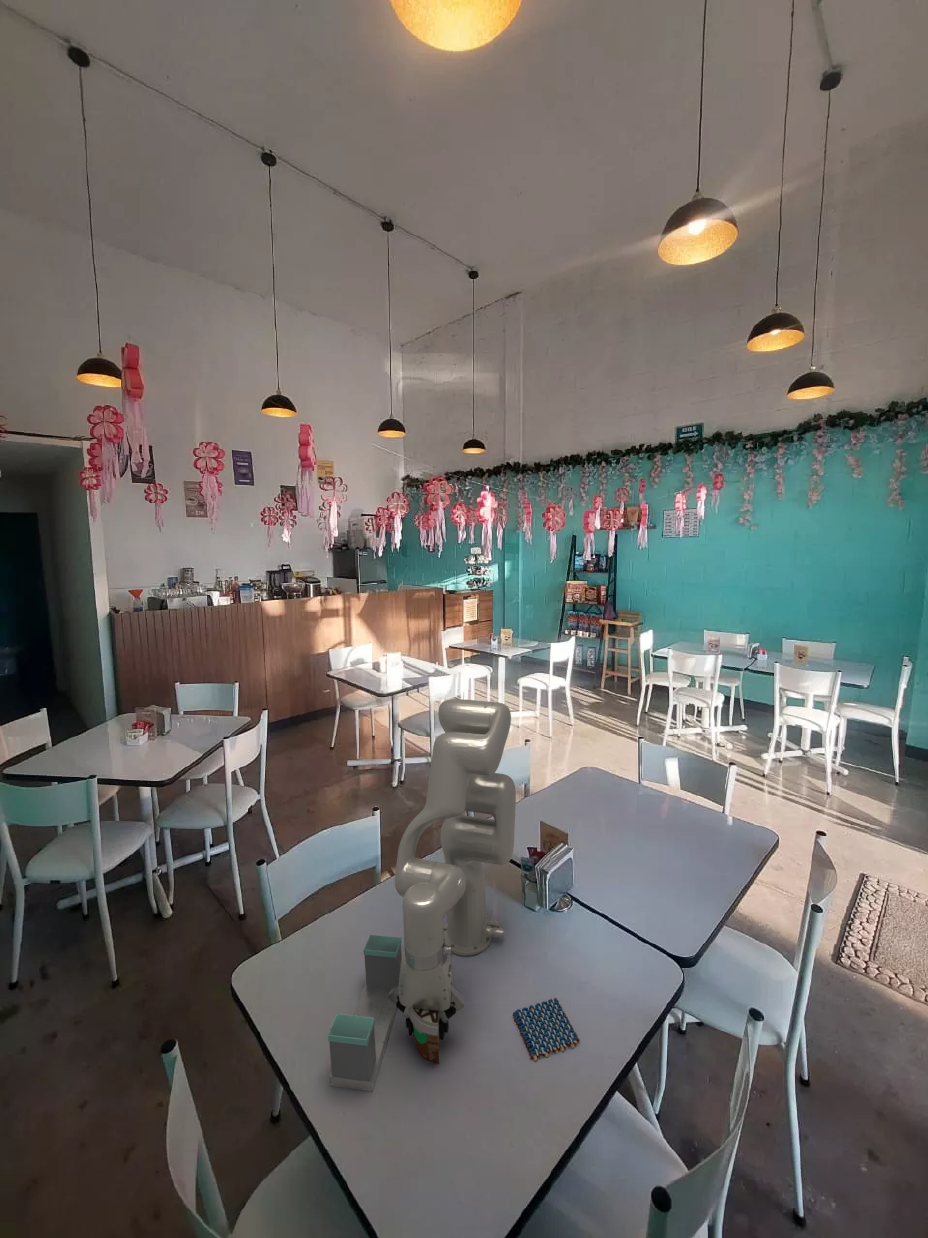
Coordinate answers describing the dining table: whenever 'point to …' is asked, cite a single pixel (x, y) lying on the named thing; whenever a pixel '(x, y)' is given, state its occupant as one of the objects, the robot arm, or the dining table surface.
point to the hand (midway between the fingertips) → (427, 1030)
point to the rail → (383, 1013)
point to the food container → (426, 1033)
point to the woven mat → (545, 1028)
